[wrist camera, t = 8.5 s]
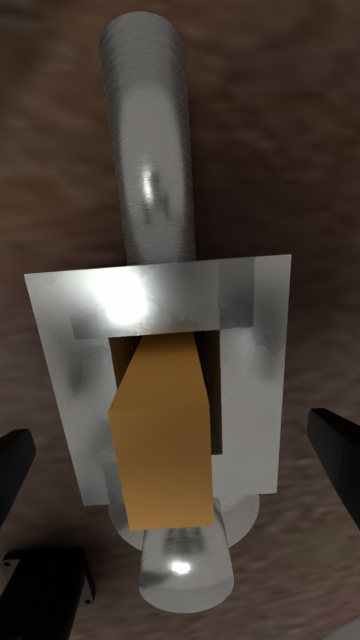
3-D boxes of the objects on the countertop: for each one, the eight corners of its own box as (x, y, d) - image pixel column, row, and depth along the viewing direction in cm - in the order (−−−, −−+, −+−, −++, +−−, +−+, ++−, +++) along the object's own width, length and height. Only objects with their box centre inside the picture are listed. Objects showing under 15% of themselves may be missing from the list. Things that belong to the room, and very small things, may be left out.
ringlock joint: (244, 505, 17) (279, 634, 11) (129, 513, 17) (104, 645, 11) (248, 99, 10) (346, -121, 4) (55, 114, 10) (-109, -82, 4)
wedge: (193, 377, 14) (214, 525, 6) (156, 380, 14) (130, 530, 6) (189, 317, 13) (209, 404, 5) (149, 320, 13) (107, 411, 5)
